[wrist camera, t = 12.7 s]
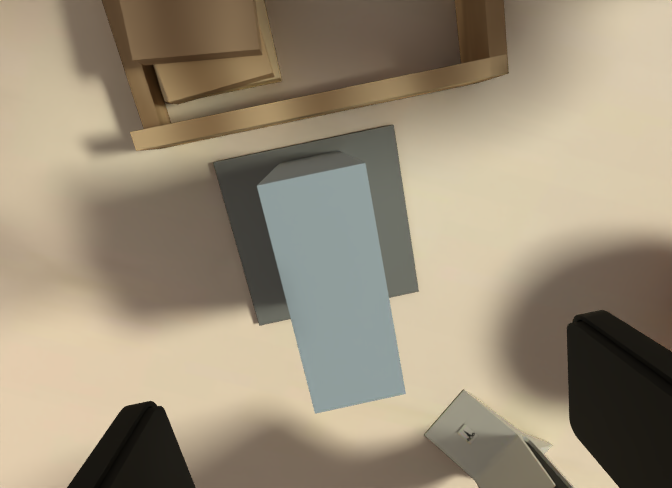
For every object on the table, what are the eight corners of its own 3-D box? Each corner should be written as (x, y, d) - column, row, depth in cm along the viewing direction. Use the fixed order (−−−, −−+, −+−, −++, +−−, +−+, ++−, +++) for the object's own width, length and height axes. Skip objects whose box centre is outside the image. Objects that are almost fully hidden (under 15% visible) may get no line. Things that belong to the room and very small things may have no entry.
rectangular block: (339, 150, 26) (365, 162, 14) (365, 288, 28) (405, 393, 17) (279, 163, 25) (256, 185, 14) (312, 300, 28) (315, 413, 17)
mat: (392, 125, 26) (393, 124, 25) (417, 289, 29) (418, 291, 29) (214, 162, 26) (213, 162, 25) (260, 323, 29) (259, 325, 28)
